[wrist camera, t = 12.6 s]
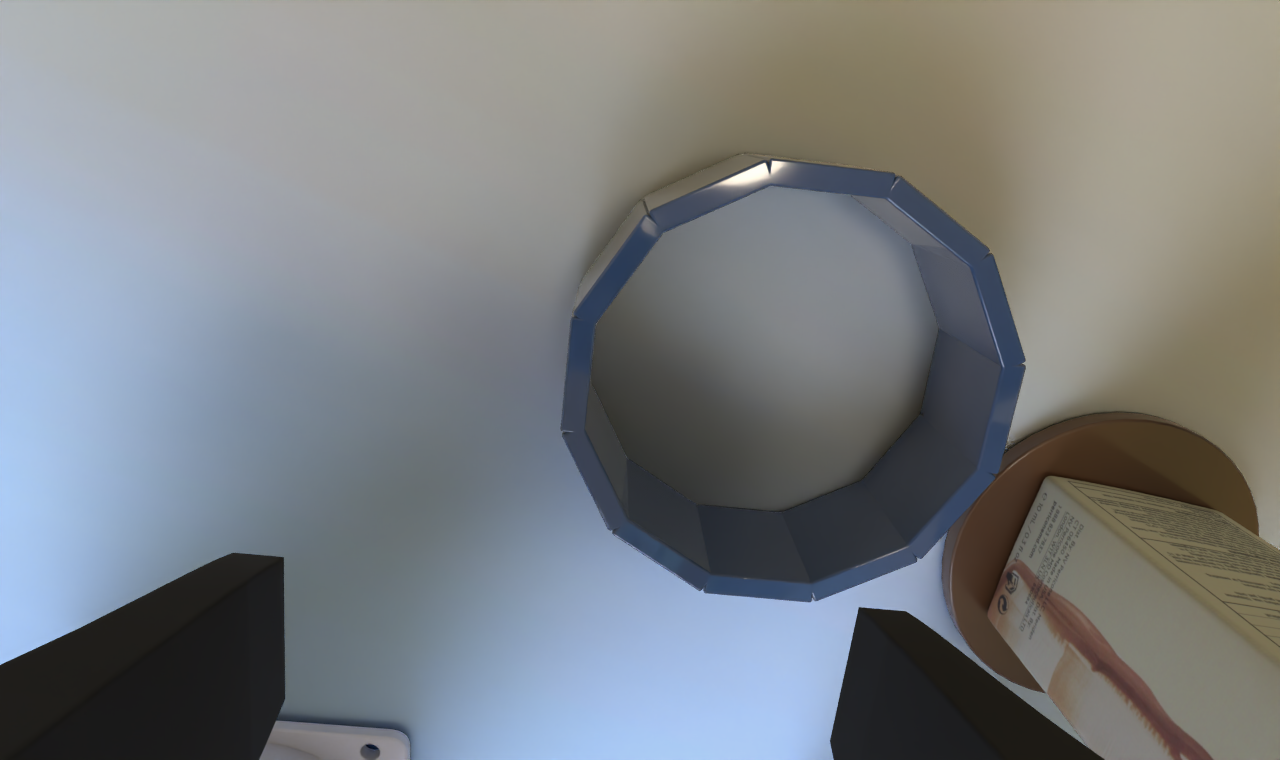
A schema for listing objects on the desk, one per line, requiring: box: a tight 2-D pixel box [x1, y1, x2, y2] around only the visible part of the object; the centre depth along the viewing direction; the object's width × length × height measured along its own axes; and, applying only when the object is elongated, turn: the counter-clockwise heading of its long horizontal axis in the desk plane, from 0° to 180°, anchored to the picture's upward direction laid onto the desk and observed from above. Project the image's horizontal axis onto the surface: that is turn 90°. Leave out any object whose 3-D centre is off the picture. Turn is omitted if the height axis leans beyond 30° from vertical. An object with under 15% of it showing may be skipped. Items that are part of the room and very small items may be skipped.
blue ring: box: [561, 153, 1026, 602], centre depth 19 cm, size 9×9×4 cm
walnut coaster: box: [942, 412, 1259, 693], centre depth 22 cm, size 8×8×1 cm
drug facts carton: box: [988, 476, 1280, 760], centre depth 17 cm, size 5×4×10 cm
